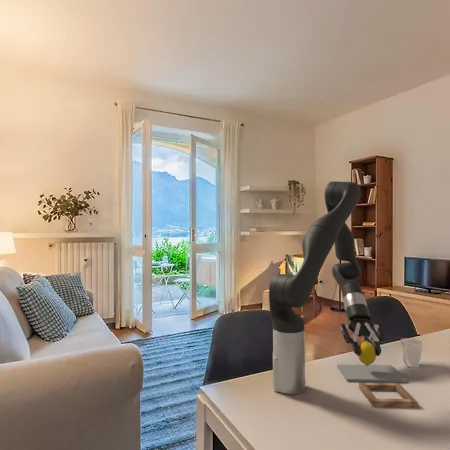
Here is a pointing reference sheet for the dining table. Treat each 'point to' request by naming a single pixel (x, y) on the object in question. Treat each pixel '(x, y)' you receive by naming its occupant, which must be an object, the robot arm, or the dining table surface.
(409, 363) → the cup
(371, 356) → the lemon
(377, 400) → the square seat
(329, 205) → the robot arm
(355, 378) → the mat
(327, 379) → the dining table surface
